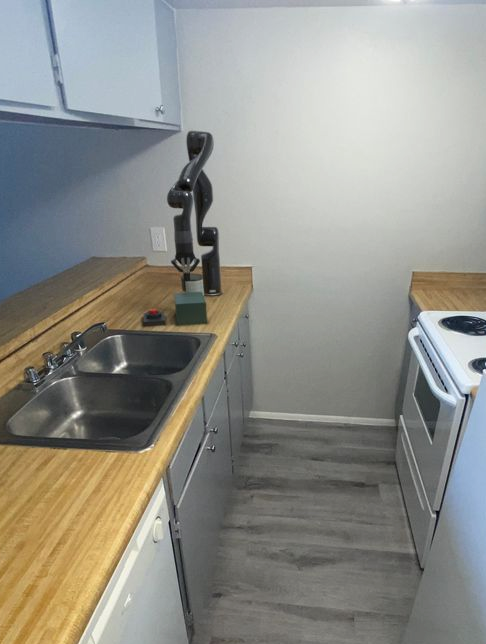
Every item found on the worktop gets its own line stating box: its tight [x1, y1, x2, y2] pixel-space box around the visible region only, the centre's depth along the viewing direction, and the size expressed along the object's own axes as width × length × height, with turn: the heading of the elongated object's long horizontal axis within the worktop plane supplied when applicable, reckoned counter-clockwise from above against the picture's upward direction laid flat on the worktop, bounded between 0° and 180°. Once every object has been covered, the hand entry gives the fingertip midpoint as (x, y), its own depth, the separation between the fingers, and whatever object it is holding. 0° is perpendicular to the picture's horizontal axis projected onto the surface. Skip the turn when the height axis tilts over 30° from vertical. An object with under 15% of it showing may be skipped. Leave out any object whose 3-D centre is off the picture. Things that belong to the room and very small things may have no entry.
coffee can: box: [180, 273, 205, 297], centre depth 225 cm, size 10×10×14 cm
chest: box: [173, 297, 208, 326], centre depth 209 cm, size 16×13×9 cm
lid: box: [173, 292, 207, 306], centre depth 207 cm, size 16×13×1 cm
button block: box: [142, 310, 166, 328], centre depth 207 cm, size 12×9×4 cm
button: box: [148, 308, 159, 314], centre depth 205 cm, size 4×4×2 cm
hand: (187, 281), depth 209 cm, fingers closed
